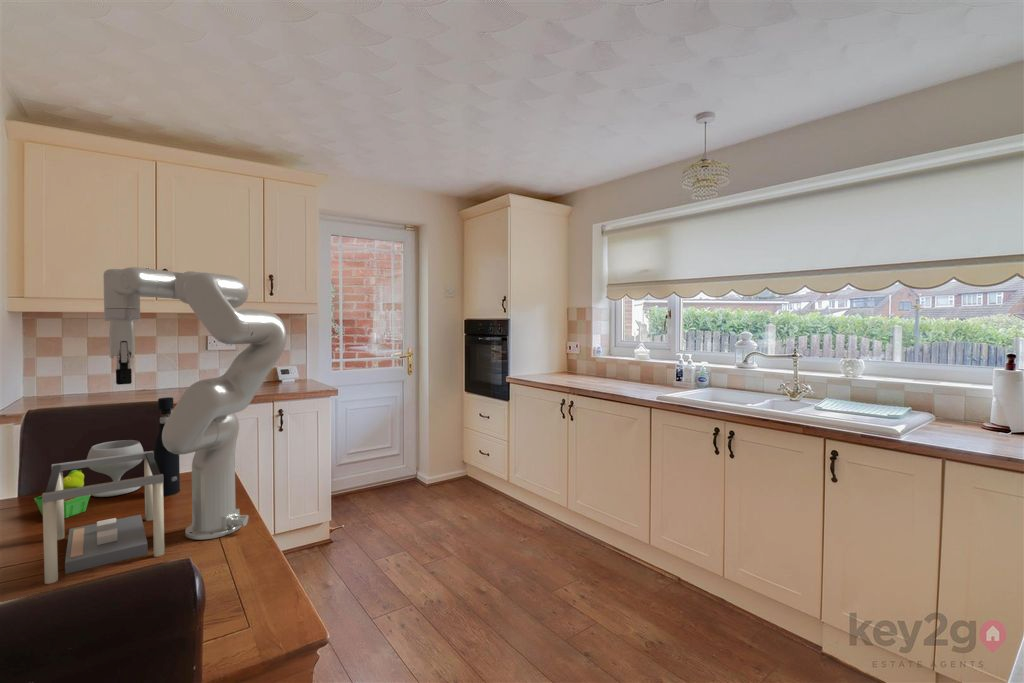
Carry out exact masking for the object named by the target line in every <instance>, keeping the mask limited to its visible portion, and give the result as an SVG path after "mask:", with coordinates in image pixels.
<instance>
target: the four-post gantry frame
mask: <svg viewBox="0 0 1024 683" xmlns="http://www.w3.org/2000/svg"><path fill="white" fill-rule="evenodd" d="M143 464H144V466H143V467H144V468H143V469H144V470H143V472H144V473H143V474H144V476H143V477H146V476H152V472H151V470H150V467H149V464H148V461H147V459H143ZM63 478H64V471H60V473H59V477H58V481H57V485H56V489H55V491H58V490H63ZM164 503H165V502H164V496H163V483H157V484H151V485H145V486H144V516H145V517H144V521H146V522H150V521H152V524H153V525H152V527H153V528H152V530H153V533H152V535H153V538H152V540H153V542H152V543H153V557H154V558H155V557H156V558H157V557H163V556H164V555H165V509H164V507H165V506H164V505H165V504H164ZM144 521H143V517H142V514H136V515H131V516H128V517H127V516H126V517H121V518H116V526H117V536H118V541H113V542H109V543H104V544H100V545H97V522H96V523H91V524H87V525H82V526H77V527H72V528H69V530H68V537H67V545H66V550H65V552H66V553H65V561H64V574H65V575H67V574H72V573H77V572H80V571H85V570H89V569H93V568H96V567H100V566H104V565H108V564H114V563H117V562H120V561H121V562H122V561H126V560H128V559H133V558H138V557H141V556H145V555H146V556H147V555H148V553H149V552H148V550H149V549H148V540H147V536H146V532H145V530H146V529H145V526H144ZM42 528H43V529H42V530H43V531H42V532H43V564H44V565H43V566H44V569H43V571H44V573H43V574H44V584H45V585H51V584H54V583H57V582H58V581H59V569H58V568H59V565H58V563H59V562H58V559H59V558H58V541H60V540H62V539H64V538H65V518H64V499H63V500H57V501H51V502H45V503H43V515H42Z"/></svg>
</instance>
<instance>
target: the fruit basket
mask: <svg viewBox="0 0 1024 683" xmlns="http://www.w3.org/2000/svg"><path fill="white" fill-rule="evenodd" d="M82 471H83V470H81V469H72V470H71V471H70V472H69V473H68V474H67V476H65V477H63V490H65V489H71V488H77V487H83V486H85V474H84V473H83V472H82ZM91 496H92V495H86V496H80V497H74V498H69V499H64V519H67V518H70V517H72V516H73V517H74V516H75V515H79V514H81V513H84V512H86V510H87V507H88V504H89V501H90V498H91ZM34 502H35V503H36V505H37V507H38V509H39V512H40V514H41V515H42V516H43V503H42V495H40V496H36V497H34Z"/></svg>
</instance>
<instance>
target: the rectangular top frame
mask: <svg viewBox="0 0 1024 683" xmlns="http://www.w3.org/2000/svg"><path fill="white" fill-rule="evenodd" d="M142 459H143V460H144V459H147V461H148V464H149V467H150V470H151V472H152V476H146V477H144V476H140V477H134V478H128V479H120V481H115V482H113V481H110V482H103V483H96V484H90V485H84V486H83V487H77V488H71V489H65V490H58V491H55V489H56V485H57V481H58V477H59V473H60V471H63V472H64V471H69V470H71V471H72V470H79V469H84V468H89V467H92V466H100V465H107V464H114V463H121V462H128V461H135V460H142ZM143 460H142V461H143ZM50 468H51V473H50V476H49V479H48V482H47V486H46V489H45V492H42V494H41V496H42V503H45V502H51V501H57V500H63V499H69V498H74V497H80V496H86V495H91V496H92V494H98V493H104V492H110V491H116V490H121V489H127V488H133V487H139V486H141V487H143V486H144V487H145V485H151V484H157V483H163V482H164V476H163V474H160V471H159V469H158V466H157V464H156V462H155V459H154V450H150V451H144V452H141V453H133V454H126V455H118V456H111V457H103V458H96V459H88V460H87V459H81V460H73V461H67V462H60V463H52V464H51V467H50Z"/></svg>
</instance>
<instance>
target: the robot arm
mask: <svg viewBox="0 0 1024 683" xmlns="http://www.w3.org/2000/svg"><path fill="white" fill-rule="evenodd" d="M248 289H249V288H248V286H247V285H246V283H245V282H244V281H242V280H241V279H240V278H238V277H236V276H233V275H227V274H219V273H211V272H202V271H201V272H200V271H194V270H193V271H191V270H190V271H189V270H188V271H185V272H179V271H178V272H177V271H169V270H162V269H156V268H155V269H154V268H144V267H136V266H135V267H133V266H131V267H125V268H109V269H106V270H105V271H104V272H103V314H104V316H103V317H104V318H103V319H104V322H109V325H108V326H109V327H108V344H109V358H110V359H112V360H113V359H114V357H116V369H115V383H116V385H131V384H132V382H133V381H132V378H133V377H132V368H131V359H132V358H133V357H134V356H135V345H136V322H141V298H159V299H172V300H179V301H180V302H182V303H183V304H187V305H188V306H189V307H190V308H191V309H192V311H193V313H194V314H195V315H196V316H197V318H198V320H200V322H201V323H202V325H204V327H205V328H206V330H207V331H208V333H209V334H210V335H211V336H212V337H213V338H214V339H215V340H216V341H218V342H220V343H222V344H225V345H245V344H246V345H248V346H247V347H246V348H245V349H243V350H242V351H241V352H240V353H239V354H238V355H237V356H236V357H235V358H234V359H233V360H232V363H231V364H230V365H229V367H228V368H227V370H226V371H225V373H224V374H223V375H220V376H218V377H212V378H211V377H210V378H207V379H202V380H201V379H200V380H198V381H196V382H194V383H193V384H191V385H190V386H188V388H186V390H185V391H184V392H183V394H182V395H181V397H180V398H179V400H178V401H177V403H176V405H175V407H173V409H172V410H171V415H169V418H168V420H167V421H166V423H165V425H164V428H163V431H162V442H163V445H164V447H165V448H166V449H167V450H168V451H169V452H171V453H173V454H179V456H180V455H187V454H192V453H194V455H193V458H192V462H191V514H192V516H191V517H192V519H191V520H192V523H191V524H190V525H189V526H187V527H186V528H185V530H184V531H185V533H184V536H185V538H188V539H190V540H198V541H199V540H200V541H203V540H212V539H217V538H221V537H224V536H227V535H230V534H232V533H234V532H236V531H238V530H239V529H241V527H245V526H247V525H248V521H249V518H250V517H249V514H240V508H236V446H237V441H238V436H239V429H240V423H239V418H238V416H237V415H236V414H237V413H239V412H241V411H243V410H245V409H247V407H248V406H249V405H250V404H251V402H252V401H253V399H254V397H255V396H256V394H257V393H258V391H259V390H260V389H261V386H262V385H263V384H264V382H265V381H266V378H267V377H268V375H269V373H270V372H271V371H272V369H273V368H274V367H275V365H276V364H277V362H278V361H279V359H280V358H281V356H282V355H283V352H284V350H285V348H286V344H287V331H286V327H285V324H284V321H283V320H282V318H280V317H279V316H278V315H277V314H275V313H273V312H272V311H269V310H262V309H253V308H252V309H250V308H249V309H248V308H247V309H246V308H238V307H241V306H243V305H244V304H245V303H246V302H247V301H248V298H249V290H248Z"/></svg>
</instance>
